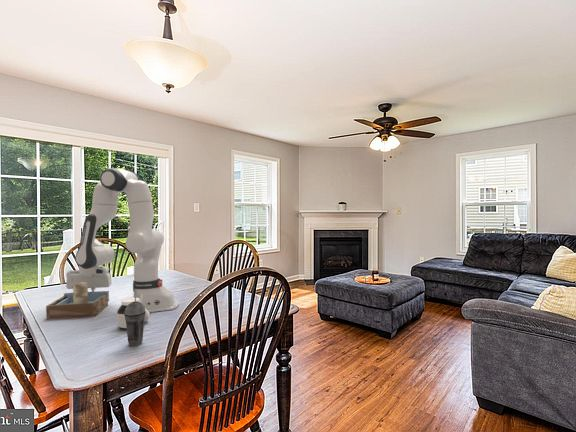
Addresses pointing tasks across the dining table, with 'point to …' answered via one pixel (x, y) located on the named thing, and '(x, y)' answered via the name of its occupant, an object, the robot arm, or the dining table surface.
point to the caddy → (75, 309)
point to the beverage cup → (135, 322)
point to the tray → (91, 297)
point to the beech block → (80, 293)
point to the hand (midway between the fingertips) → (89, 296)
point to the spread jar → (120, 314)
